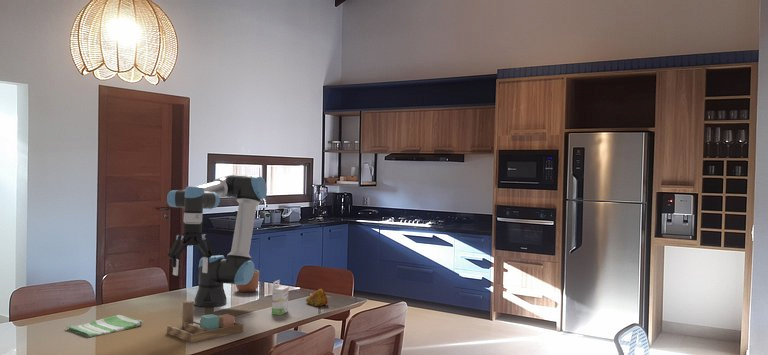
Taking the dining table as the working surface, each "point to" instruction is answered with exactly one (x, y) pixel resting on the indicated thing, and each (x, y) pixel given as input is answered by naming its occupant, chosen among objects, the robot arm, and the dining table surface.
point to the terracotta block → (226, 320)
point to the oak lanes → (202, 332)
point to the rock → (317, 298)
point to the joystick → (206, 321)
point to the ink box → (279, 299)
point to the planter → (250, 283)
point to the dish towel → (105, 326)
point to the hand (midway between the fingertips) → (190, 274)
